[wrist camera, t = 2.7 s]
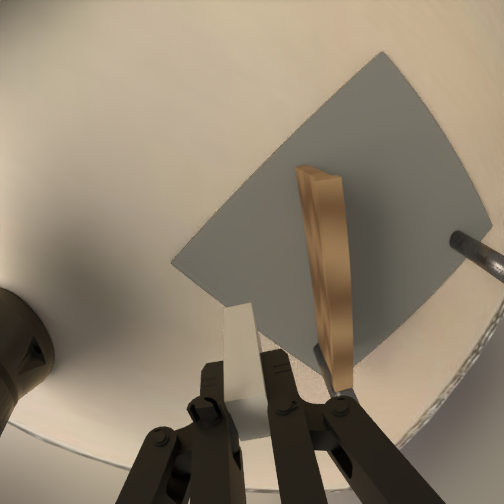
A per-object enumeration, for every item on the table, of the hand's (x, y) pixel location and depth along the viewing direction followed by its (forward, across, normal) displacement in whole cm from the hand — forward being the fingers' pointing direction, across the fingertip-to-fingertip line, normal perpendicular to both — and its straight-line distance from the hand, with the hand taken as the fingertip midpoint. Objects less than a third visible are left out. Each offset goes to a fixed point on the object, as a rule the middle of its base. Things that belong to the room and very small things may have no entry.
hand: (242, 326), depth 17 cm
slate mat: (+15, +13, -3) cm, 20 cm away
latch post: (+15, +26, -6) cm, 31 cm away
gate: (+14, +7, -4) cm, 16 cm away
